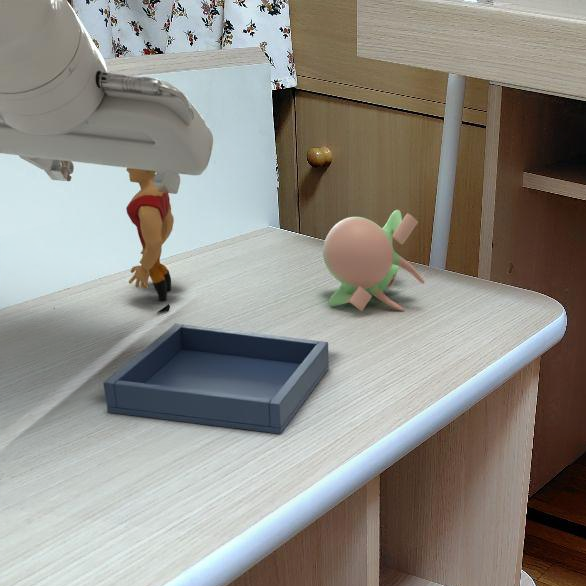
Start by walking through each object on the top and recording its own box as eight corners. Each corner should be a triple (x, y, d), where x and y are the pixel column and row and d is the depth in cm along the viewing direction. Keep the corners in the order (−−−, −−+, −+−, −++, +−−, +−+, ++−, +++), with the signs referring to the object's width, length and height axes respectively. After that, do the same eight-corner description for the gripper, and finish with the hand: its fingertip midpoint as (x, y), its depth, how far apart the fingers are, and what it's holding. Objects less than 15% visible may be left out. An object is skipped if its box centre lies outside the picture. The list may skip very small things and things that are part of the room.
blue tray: (107, 412, 76) (102, 382, 75) (178, 350, 88) (175, 323, 86) (280, 434, 76) (279, 404, 74) (328, 368, 87) (328, 341, 86)
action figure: (146, 289, 100) (127, 132, 92) (183, 290, 101) (167, 134, 93) (130, 322, 92) (108, 153, 84) (170, 323, 93) (152, 156, 85)
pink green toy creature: (453, 251, 101) (422, 237, 108) (379, 186, 95) (351, 176, 102) (383, 346, 101) (356, 326, 109) (305, 287, 95) (283, 270, 103)
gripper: (186, 47, 72) (242, 161, 86) (-85, 17, 73) (13, 135, 86) (168, 121, 71) (228, 226, 84) (-109, 90, 71) (-5, 199, 85)
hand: (117, 180), depth 85 cm, fingers open, 8 cm apart
